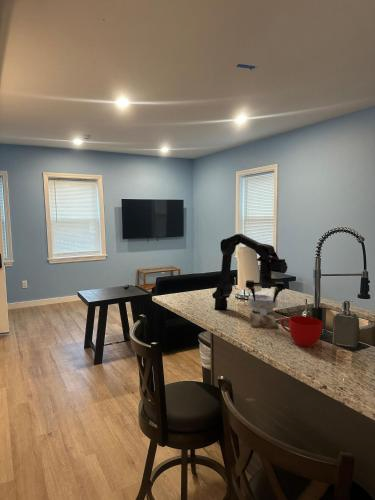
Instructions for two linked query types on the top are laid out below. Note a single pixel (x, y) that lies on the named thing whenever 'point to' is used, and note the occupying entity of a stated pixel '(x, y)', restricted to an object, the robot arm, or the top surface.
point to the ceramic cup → (304, 330)
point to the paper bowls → (262, 303)
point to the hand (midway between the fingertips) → (264, 302)
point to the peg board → (269, 321)
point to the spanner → (263, 314)
